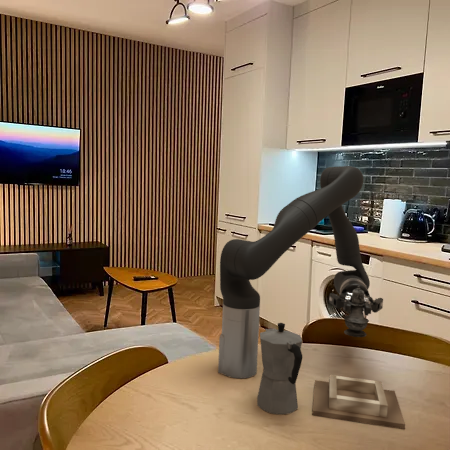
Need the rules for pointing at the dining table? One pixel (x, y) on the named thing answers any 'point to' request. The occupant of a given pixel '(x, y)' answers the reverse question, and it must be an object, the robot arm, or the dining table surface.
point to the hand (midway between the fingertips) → (358, 310)
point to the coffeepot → (279, 370)
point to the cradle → (357, 401)
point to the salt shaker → (356, 315)
